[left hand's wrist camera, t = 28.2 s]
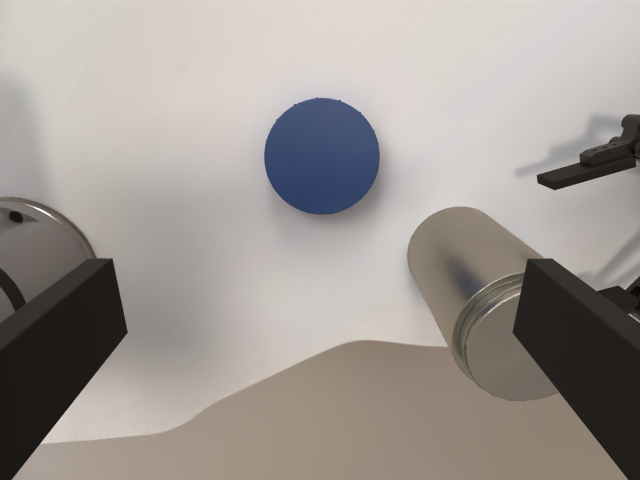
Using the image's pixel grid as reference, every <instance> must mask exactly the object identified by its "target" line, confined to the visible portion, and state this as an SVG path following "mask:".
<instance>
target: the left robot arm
mask: <svg viewBox="0 0 640 480" xmlns="http://www.w3.org/2000/svg"><path fill="white" fill-rule="evenodd" d="M127 333H128V331H127V327H126V322H125V317H124V312H123V307H122V302H121V298H120V293H119V288H118V283H117V278H116V273H115V269H114V264H113V259H95V256H94V254H93V252H92V249H91V248H90V246H89V244H88V242H87V241H86V239H85V238H84V237H83V235H82V234H81V233H80V232H79V230H78V229H77V228H76V227H75V226H74V225H73V224H72V223H70V222H69V221H68V220H67V219H66V218H64V217H63V216H62V215H60V214H59V213H57V212H56V211H54V210H52V209H50V208H48V207H46V206H44V205H42V204H39V203H36V202H34V201H30V200H26V199H21V198H12V197H3V198H0V480H12V479H13V477H14V476H15V475H16V474H17V472H18V471H19V470H20V468H21V467H22V466H23V465H24V463H25V462H26V461H27V460H28V458H29V457H30V456H31V454H32V453H33V452H34V451H35V449H36V448H37V447H38V446H39V444H40V443H41V442H42V441H43V439H44V438H45V437H46V435H47V434H48V433H49V432H50V430H51V429H52V428H53V427H54V425H55V424H56V423H57V422H58V420H59V419H60V418H61V416H62V415H63V414H64V413H65V411H66V410H67V409H68V408H69V406H70V405H71V404H72V403H73V401H74V400H75V399H76V397H77V396H78V395H79V394H80V392H81V391H82V390H83V389H84V387H85V386H86V385H87V384H88V382H89V381H90V380H91V378H92V377H93V376H94V375H95V373H96V372H97V371H98V370H99V368H100V367H101V366H102V365H103V363H104V362H105V361H106V359H107V358H108V357H109V356H110V354H111V353H112V352H113V351H114V349H115V348H116V347H117V346H118V344H119V343H120V342H121V340H122V339H123V338H124V337H125V335H126V334H127ZM512 333H513V334H514V335H515V337H516V338H517V339H518V340H519V342H520V343H521V344H522V346H523V347H524V348H525V349H526V351H527V352H528V353H529V354H530V356H531V357H532V358H533V359H534V361H535V362H536V363H537V365H538V366H539V367H540V368H541V370H542V371H543V372H544V373H545V375H546V376H547V377H548V378H549V380H550V381H551V382H552V384H553V385H554V386H555V387H556V389H557V390H558V391H559V392H560V394H561V395H562V396H563V397H564V399H565V400H566V401H567V402H568V404H569V405H570V406H571V408H572V409H573V410H574V411H575V413H576V414H577V415H578V416H579V418H580V419H581V420H582V422H583V423H584V424H585V425H586V427H587V428H588V429H589V430H590V432H591V433H592V434H593V435H594V437H595V438H596V439H597V441H598V442H599V443H600V444H601V446H602V447H603V448H604V449H605V451H606V452H607V453H608V454H609V456H610V457H611V458H612V460H613V461H614V462H615V463H616V465H617V466H618V467H619V468H620V470H621V471H622V472H623V473H624V475H625V476H626V477H627V479H628V480H640V323H639V322H638V321H636V320H635V319H634V318H632V317H631V316H630V315H628V314H627V313H626V312H624V311H623V310H621V309H620V308H619V307H617V306H616V305H615V304H613V303H612V302H611V301H609V300H608V299H606V298H605V297H604V296H602V295H601V294H600V293H598V292H597V291H595V290H594V289H593V288H591V287H590V286H589V285H587V284H586V283H585V282H583V281H582V280H580V279H579V278H578V277H576V276H575V275H574V274H572V273H571V272H570V271H568V270H567V269H565V268H564V267H563V266H561V265H560V264H559V263H557V262H556V261H554V260H553V259H527V264H526V269H525V273H524V278H523V283H522V288H521V293H520V298H519V302H518V307H517V312H516V317H515V322H514V327H513V331H512Z"/></svg>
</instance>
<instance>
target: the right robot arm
mask: <svg viewBox="0 0 640 480" xmlns="http://www.w3.org/2000/svg"><path fill="white" fill-rule="evenodd" d="M621 124H622V127H623V128H624V130H623V133H622V135H621V137H614V138H612V139H611V140H610V141H609V143H608V144H605V145H602V146H599V147H595V148H592V149H588V150H585V151H584V152H582V153H581V154H580V163H576V164H573V165H570V166H566V167H563V168H559V169H556V170H552V171H549V172H546V173H542V174H539V175H537V181H538V183H539V184H541V185H544V186H546V187H548V188H551V189H553V190H557V189H560V188H564V187H567V186H571V185H574V184H578V183H581V182H585V181H588V180H592V179H595V178H599V177H602V176H606V175H609V174H613V173H616V172H620V171H623V170H627V169H630V168H634V167H636V161H638V162H640V115H634V114H629V115H627V116H625V117H624V118H623V120H622V123H621ZM597 292H598V293H600V294H601V295H602V296H604V297H605V298H606V299H608V300H609V301H611V302H612V303H613V304H615V305H616V306H617V307H619V308H620V309H621V310H623V311H624V312H626V313H627V314H631V315H633V316H634V317H635V318H637V319H638V320H639V321H640V276H639V277H638V278H637V279H636V280H635V281H634V282H633V283H632V284H631V285H630V286H629V287H628V288H627V289H626V290H624V289H623V288H621V287H620V286H615V287H611V288H607V289H604V290H600V291H597Z"/></svg>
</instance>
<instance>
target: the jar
mask: <svg viewBox="0 0 640 480" xmlns="http://www.w3.org/2000/svg"><path fill="white" fill-rule="evenodd" d="M407 255H408V264H409V268H410V271H411V273H412V275H413V277H414V279H415V281H416V283H417V285H418V287H419V289H420V291H421V293H422V295H423V297H424V299H425V301H426V303H427V305H428V307H429V309H430V311H431V313H432V315H433V317H434V319H435V321H436V323H437V325H438V327H439V329H440V331H441V333H442V335H443V337H444V339H445V341H446V343H447V345H448V347H449V349H450V351H451V353H452V355H453V357H454V359H455V361H456V363H457V365H458V366H459V368H460V369H461V370H462V372H463V373H464V374H465V375H466V376H467V377H469V378H470V379H471V380H473V381H474V382H475V383H476V384H477V385H478V386H479V387H480V388H481V389H483V390H485V391H487V392H488V393H490V394H491V395H492V396H496V397H500V398H503V399H507V400H508V401H526V400H535V399H540V398H544V397H548V396H551V395H553V394H556V393H558V392H559V391H558V390H557V389H556V387H555V386H554V385H553V384H552V382H551V381H550V380H549V378H548V377H547V376H546V375H545V373H544V372H543V371H542V370H541V368H540V367H539V366H538V365H537V363H536V362H535V361H534V359H533V358H532V357H531V356H530V354H529V353H528V352H527V351H526V349H525V348H524V347H523V346H522V344H521V343H520V342H519V340H518V339H517V338H516V337H515V335H514V334H513V333H512V331H513V327H514V322H515V317H516V312H517V307H518V302H519V298H520V293H521V288H522V283H523V278H524V273H525V269H526V264H527V259H545V258H544V257H543V256H541V255H540V254H539V253H537V252H536V251H535V250H533V249H532V248H531V247H529V246H528V245H527V244H525V243H524V242H523V241H521V240H520V239H519V238H517V237H516V236H515V235H513V234H512V233H511V232H509V231H508V230H507V229H505V228H504V227H503V226H501V225H500V224H499V223H497V222H496V221H495V220H493V219H492V218H491V217H489V216H488V215H487V214H485V213H483V212H482V211H479V210H477V209H473V208H469V207H452V208H448V209H444V210H441V211H439V212H437V213H435V214H433V215H431V216H430V217H428V218H427V219H426V220H425V221H424V222H422V223H421V225H420V226H419V227H418V228H417V229H416V231H415V232H414V234H413V236H412V238H411V240H410V243H409V247H408V254H407Z"/></svg>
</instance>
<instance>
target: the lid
mask: <svg viewBox="0 0 640 480" xmlns="http://www.w3.org/2000/svg"><path fill="white" fill-rule="evenodd" d="M266 141H267V142H266V145H265V168H266V171H267V175H268V178H269V180H270V182H271V184H272V186H273V188H274V189H275V191H276V192H277V193H278V194H279V195H280V197H281V198H282V199H283V200H285V201H286V202H287V203H288V204H290V205H291V206H293V207H295V208H297V209H299V210H301V211H304V212H308V213H312V214H331V213H336V212H339V211H342V210H345V209H347V208H349V207H351V206H352V205H354V204H355V203H357V202H358V201H359V200H360V199H361V198H362V197H363V196H364V195H365V194H366V193H367V192H368V190H369V189H370V187H371V186H372V184H373V182H374V180H375V177H376V174H377V171H378V166H379V154H380V153H379V147H378V142H377V138H376V135H375V133H374V130H373V129H372V127H371V126H370V124H369V122H368V121H367V120H366V119H365V118H364V116H363V115H362V114H361V112H358V111H357V110H356V109H354V108H353V107H351V106H349V105H347V104H345V103H343V102H341V100H339V101H338V100H334V99H329V98H318V97H316V99H310V100H306V101H303V102H301V103H298V104H294V106H293V107H291V108H290V109H288V110H287V111H286V112H284V113H283V114H282V115H281V116H280V117H279V119H277V120H276V122H275V124H274V125H273V127H272V129H271V131H270V133H269V135H268V138H267V140H266Z"/></svg>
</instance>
